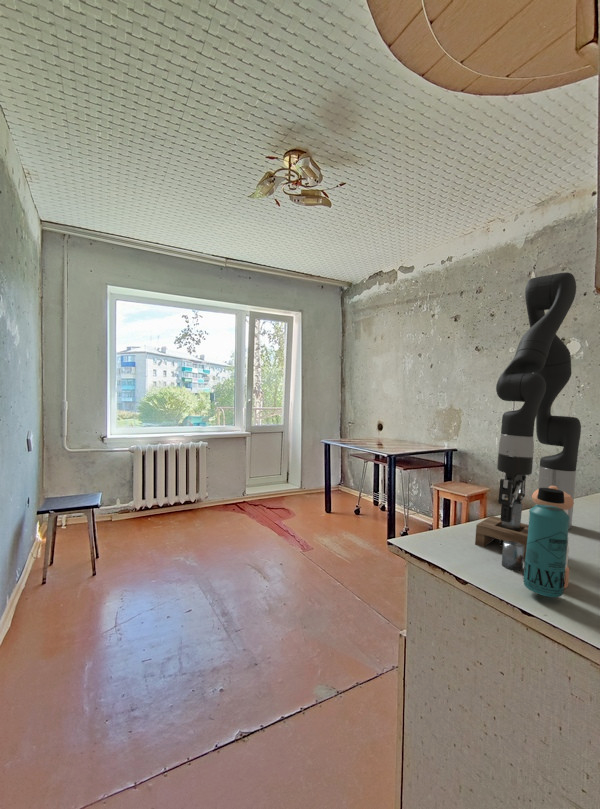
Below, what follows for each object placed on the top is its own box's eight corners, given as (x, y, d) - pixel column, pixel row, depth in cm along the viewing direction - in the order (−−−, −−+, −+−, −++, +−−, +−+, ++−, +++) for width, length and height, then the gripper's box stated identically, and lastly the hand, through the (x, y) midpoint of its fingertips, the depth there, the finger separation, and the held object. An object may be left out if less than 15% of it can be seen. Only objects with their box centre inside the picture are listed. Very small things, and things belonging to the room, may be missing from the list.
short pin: (504, 561, 84) (506, 539, 84) (524, 567, 82) (526, 544, 82) (499, 566, 81) (500, 543, 81) (519, 573, 79) (521, 549, 79)
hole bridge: (490, 533, 102) (491, 515, 102) (541, 548, 94) (543, 528, 94) (475, 544, 93) (476, 524, 93) (530, 561, 85) (531, 539, 85)
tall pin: (502, 541, 97) (506, 499, 96) (519, 547, 94) (524, 503, 93) (497, 545, 94) (502, 502, 93) (515, 551, 91) (520, 506, 90)
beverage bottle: (513, 589, 71) (521, 485, 71) (538, 585, 73) (546, 484, 73) (547, 608, 65) (556, 494, 65) (572, 603, 67) (581, 493, 67)
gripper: (506, 449, 101) (502, 509, 101) (490, 453, 91) (485, 519, 91) (539, 453, 96) (534, 516, 96) (525, 457, 86) (520, 528, 86)
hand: (510, 518), depth 94 cm, fingers open, 8 cm apart
